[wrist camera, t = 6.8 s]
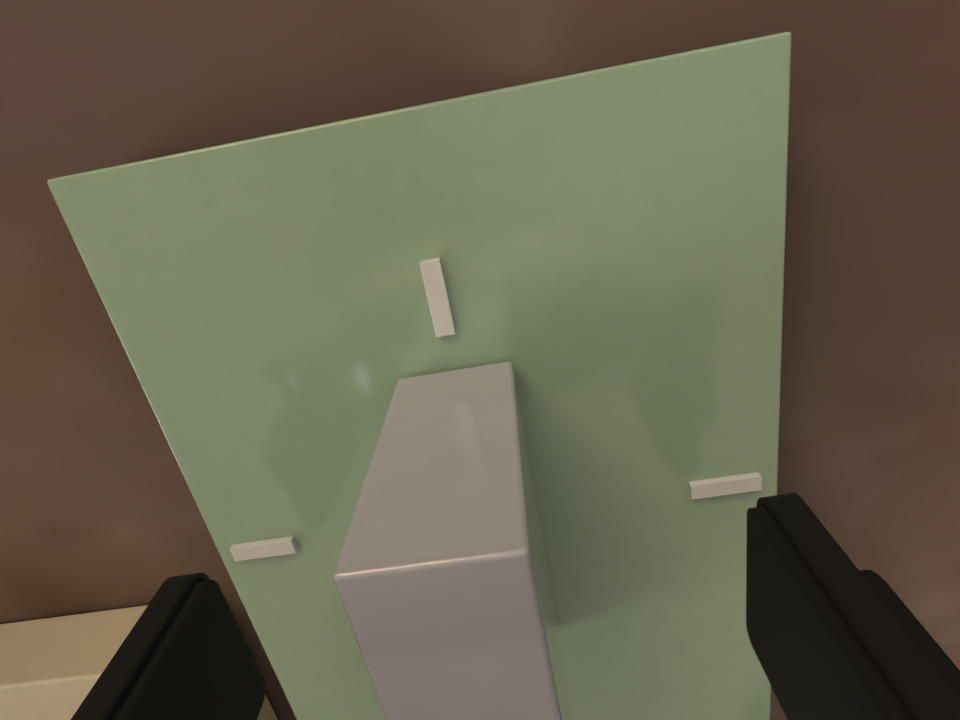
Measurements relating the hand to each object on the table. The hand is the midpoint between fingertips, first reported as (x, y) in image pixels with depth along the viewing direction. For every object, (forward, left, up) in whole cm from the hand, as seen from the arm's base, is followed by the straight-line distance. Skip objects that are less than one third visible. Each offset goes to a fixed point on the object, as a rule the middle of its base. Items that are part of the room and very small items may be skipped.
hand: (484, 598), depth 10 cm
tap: (0, 0, -2) cm, 2 cm away
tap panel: (0, 0, -4) cm, 4 cm away
